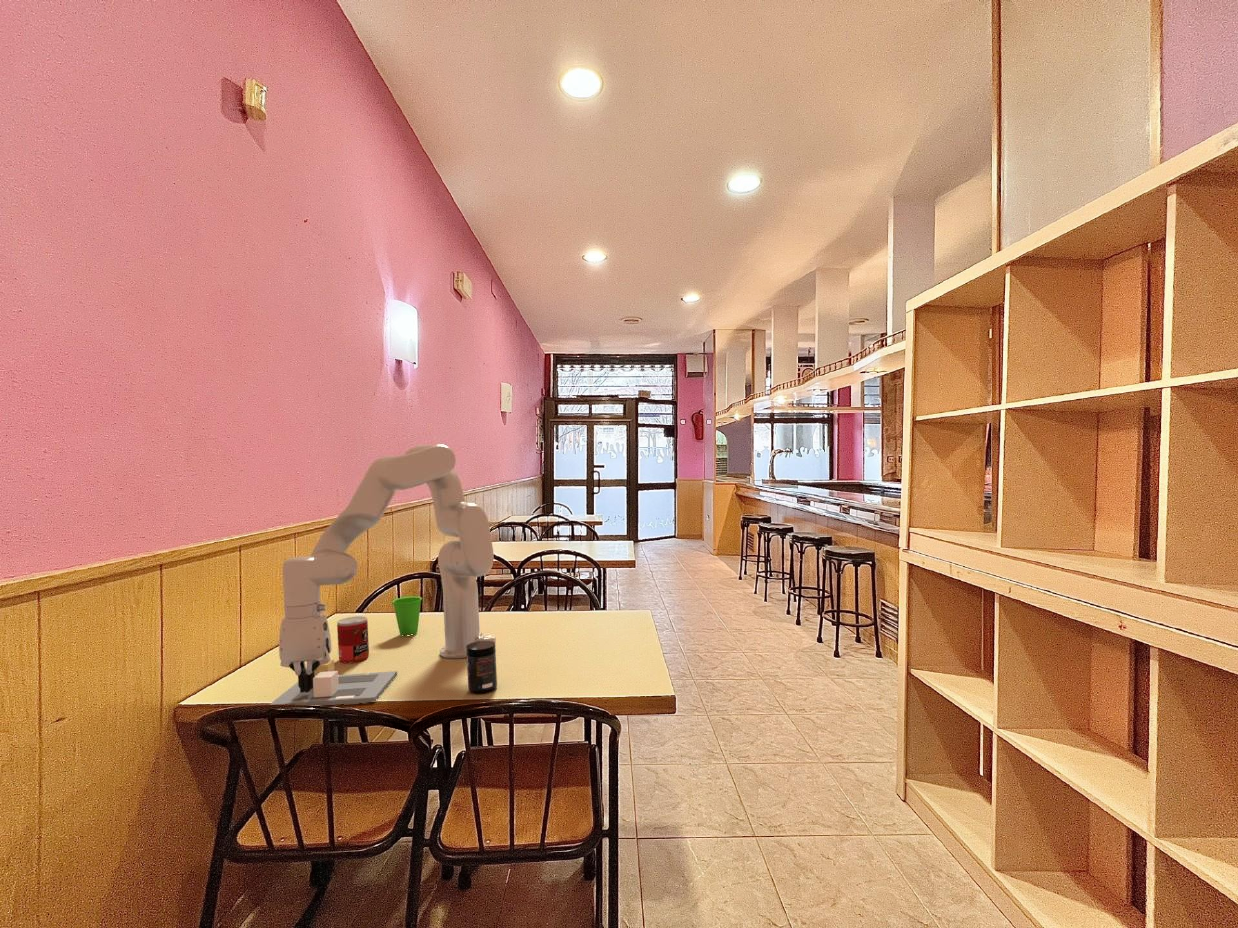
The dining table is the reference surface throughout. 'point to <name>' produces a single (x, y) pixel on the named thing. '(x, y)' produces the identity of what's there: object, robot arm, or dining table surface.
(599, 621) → the dining table surface
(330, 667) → the orange cube
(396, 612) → the cup
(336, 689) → the pale pink cube
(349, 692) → the switch board
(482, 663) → the supplement container
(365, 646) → the canned food
